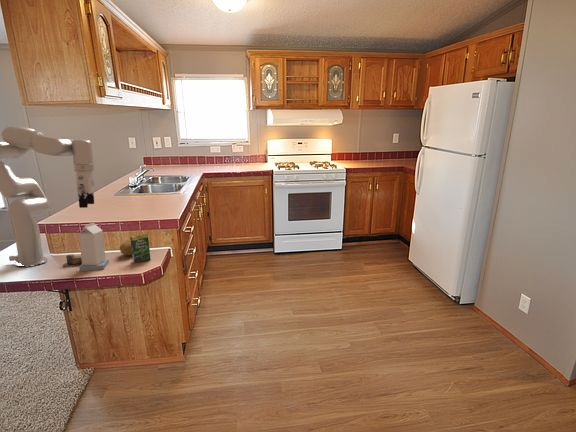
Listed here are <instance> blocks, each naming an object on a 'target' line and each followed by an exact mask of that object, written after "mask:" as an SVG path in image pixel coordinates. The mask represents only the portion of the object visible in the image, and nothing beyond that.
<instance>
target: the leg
mask: <svg viewBox="0 0 576 432" xmlns="http://www.w3.org/2000/svg"><path fill="white" fill-rule="evenodd" d="M65 258H66V263H67V264H68V265H70V264H77V263H80V264H82V259H81V255H78V256H75V254H67V255H66V257H65Z"/></svg>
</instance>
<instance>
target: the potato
mask: <svg viewBox="0 0 576 432" xmlns="http://www.w3.org/2000/svg"><path fill="white" fill-rule="evenodd" d="M119 252H120V253H121V254H122V255H125V256H128V257H130V256H132V248H131V239H127V240H124V241H122V242H121V243H120V245H119Z"/></svg>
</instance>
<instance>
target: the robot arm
mask: <svg viewBox="0 0 576 432" xmlns="http://www.w3.org/2000/svg"><path fill="white" fill-rule="evenodd" d="M0 135H1V138H2V139H0V194H1V195H2V196H3V197H4V198H6V199H15V200H13V201H10V203H9V204H8V207H7V211H8V215H9V217H10V220H11V222H12V225H13V230H14V231H13V232H14V239H15V245H16V251H17V255H9V257H8V260H9V261H10V262H14V261H15V263H16V262H18V263H21V264H22V265H24V266H30V265H36V266H39V265H38V264H40V265H43V264H44V263H45V264H46V263H47V262H48V260H49V259H48V258H47V257H45V256H44V253H43V252H44V251H43V246H42V245H43V244H42V237H41V232H40V226H39V223H38V222H37V221H36V220H35V219H34V218H36V217H40V216H44V215H46V214H48V213H49V212H50V211H51V203H50V201H49V199H48V198H47V197H48V196H47V195H45V193H44V191H43V190H42V188H41V186H40V184H39V183H38V182H37V181H36V180H35V179H33V177H29V176H28V177H27V176H24V177H23V176H22V177H21V176H20V177H18V176H17V175H16V174H15V172H14V171H13V169H12V168H11V167H10V165H8V164H7V163H5V162H3V160H1V159H4V160H6V159H7V160H8V159H19V158H21V157H22V156H24V155H25V154H27V153H28V152H29V151H30V150H33V151H34V152H36V153H39V154H43V155H47V156H52V157H72V159H73V170H74V171H73V172H75V173H76V175H75V176H76V177H75V178H76V179H75V180H76V191H77V196H78V206H79V208H80V209H83V208H85V209H86V208H88V206H89V205H95V196H94V193H95V192H96V184H95V176H94V171H95V170H94V169H95V168H94V158H93V157H94V156H93V146H92V142H91V141H90V140H87V139H71V138H54V137H48V136H46V135H44V133H42V132H41V131H38V130H36V129H33V128H31V127H26V126H15V125H13V126H7V127H5V128H3V129H2V131H1V134H0ZM42 263H43V264H42Z"/></svg>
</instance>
